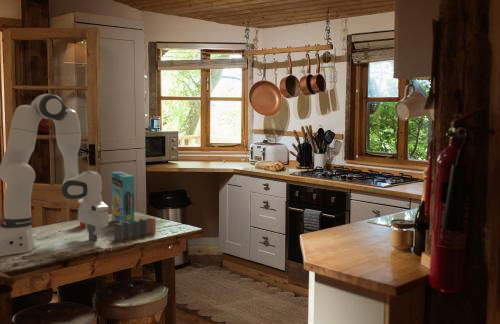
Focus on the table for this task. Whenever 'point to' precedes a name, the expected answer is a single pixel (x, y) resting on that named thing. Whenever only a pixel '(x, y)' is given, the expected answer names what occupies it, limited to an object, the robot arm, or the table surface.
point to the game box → (122, 197)
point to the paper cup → (79, 206)
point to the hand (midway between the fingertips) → (92, 233)
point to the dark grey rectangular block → (92, 233)
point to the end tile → (151, 225)
